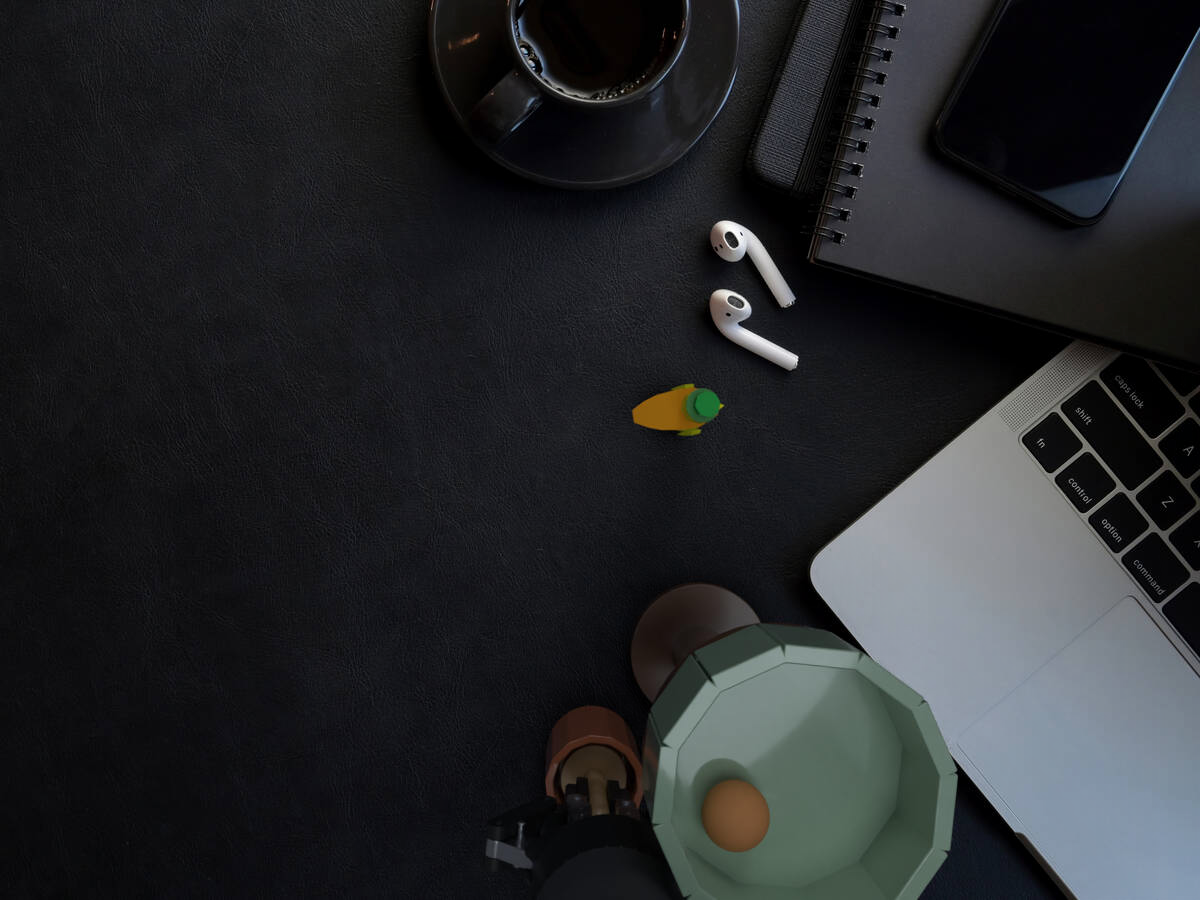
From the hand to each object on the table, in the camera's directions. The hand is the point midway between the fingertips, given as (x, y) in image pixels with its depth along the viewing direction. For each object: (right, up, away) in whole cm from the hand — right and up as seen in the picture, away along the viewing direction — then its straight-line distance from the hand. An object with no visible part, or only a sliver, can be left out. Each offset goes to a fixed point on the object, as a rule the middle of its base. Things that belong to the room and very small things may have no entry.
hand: (596, 794), depth 59 cm
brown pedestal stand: (+7, +7, +10) cm, 14 cm away
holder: (0, 0, +9) cm, 9 cm away
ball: (+6, +6, -18) cm, 20 cm away
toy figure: (+5, +24, +10) cm, 27 cm away
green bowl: (+9, +7, -15) cm, 19 cm away
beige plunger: (0, 0, +8) cm, 8 cm away
